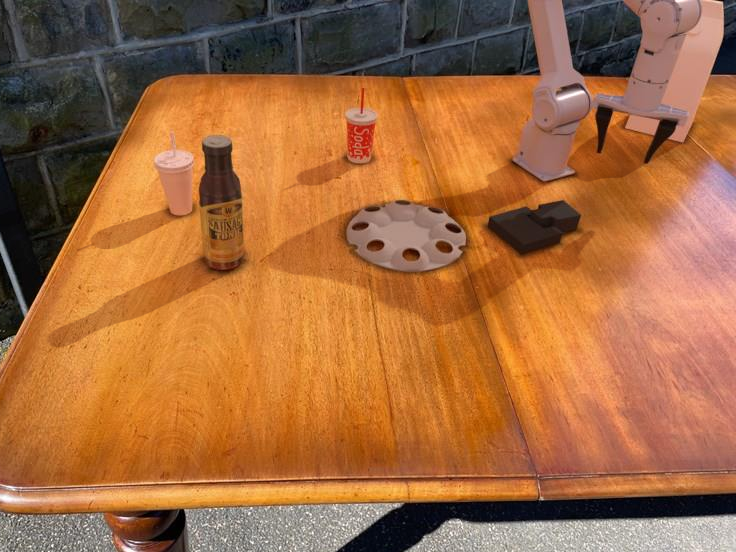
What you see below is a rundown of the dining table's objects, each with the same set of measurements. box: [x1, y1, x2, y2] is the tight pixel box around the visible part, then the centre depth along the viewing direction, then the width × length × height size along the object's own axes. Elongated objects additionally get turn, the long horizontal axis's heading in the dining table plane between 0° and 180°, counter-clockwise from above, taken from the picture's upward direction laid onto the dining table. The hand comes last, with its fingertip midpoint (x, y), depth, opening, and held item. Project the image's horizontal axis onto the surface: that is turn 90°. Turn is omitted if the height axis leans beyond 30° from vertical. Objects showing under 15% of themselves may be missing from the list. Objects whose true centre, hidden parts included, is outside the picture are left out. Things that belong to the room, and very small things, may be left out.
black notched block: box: [529, 199, 582, 234], centre depth 107 cm, size 5×7×3 cm
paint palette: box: [346, 199, 467, 273], centre depth 104 cm, size 20×20×2 cm
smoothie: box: [153, 130, 195, 216], centre depth 104 cm, size 6×6×14 cm
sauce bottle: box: [198, 134, 245, 271], centre depth 92 cm, size 6×6×20 cm
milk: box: [624, 0, 725, 143], centre depth 132 cm, size 12×12×26 cm
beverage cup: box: [344, 87, 379, 165], centre depth 120 cm, size 6×6×14 cm
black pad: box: [487, 206, 564, 255], centre depth 105 cm, size 9×8×2 cm
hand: (622, 155), depth 108 cm, fingers open, 7 cm apart
